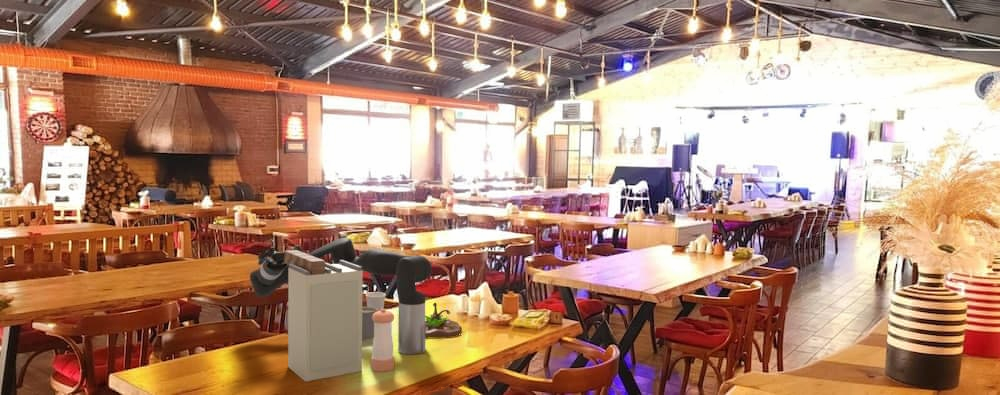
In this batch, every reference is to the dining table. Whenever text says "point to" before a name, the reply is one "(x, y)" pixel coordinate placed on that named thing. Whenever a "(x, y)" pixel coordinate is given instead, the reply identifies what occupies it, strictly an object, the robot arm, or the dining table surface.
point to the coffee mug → (368, 322)
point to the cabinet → (325, 321)
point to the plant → (441, 325)
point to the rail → (305, 261)
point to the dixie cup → (375, 300)
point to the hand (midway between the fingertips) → (285, 248)
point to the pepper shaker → (382, 341)
